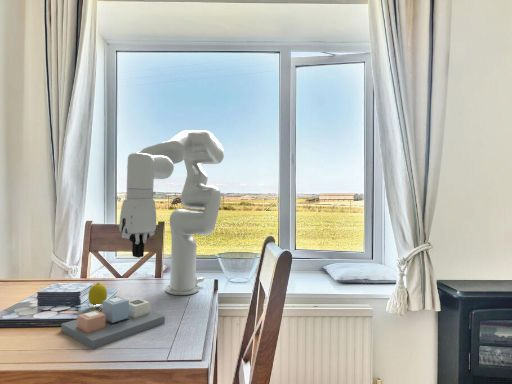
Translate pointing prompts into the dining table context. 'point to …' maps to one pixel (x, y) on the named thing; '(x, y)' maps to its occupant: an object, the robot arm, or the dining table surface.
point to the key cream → (138, 308)
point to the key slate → (115, 309)
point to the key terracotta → (91, 321)
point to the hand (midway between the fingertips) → (137, 256)
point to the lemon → (97, 294)
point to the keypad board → (113, 329)
